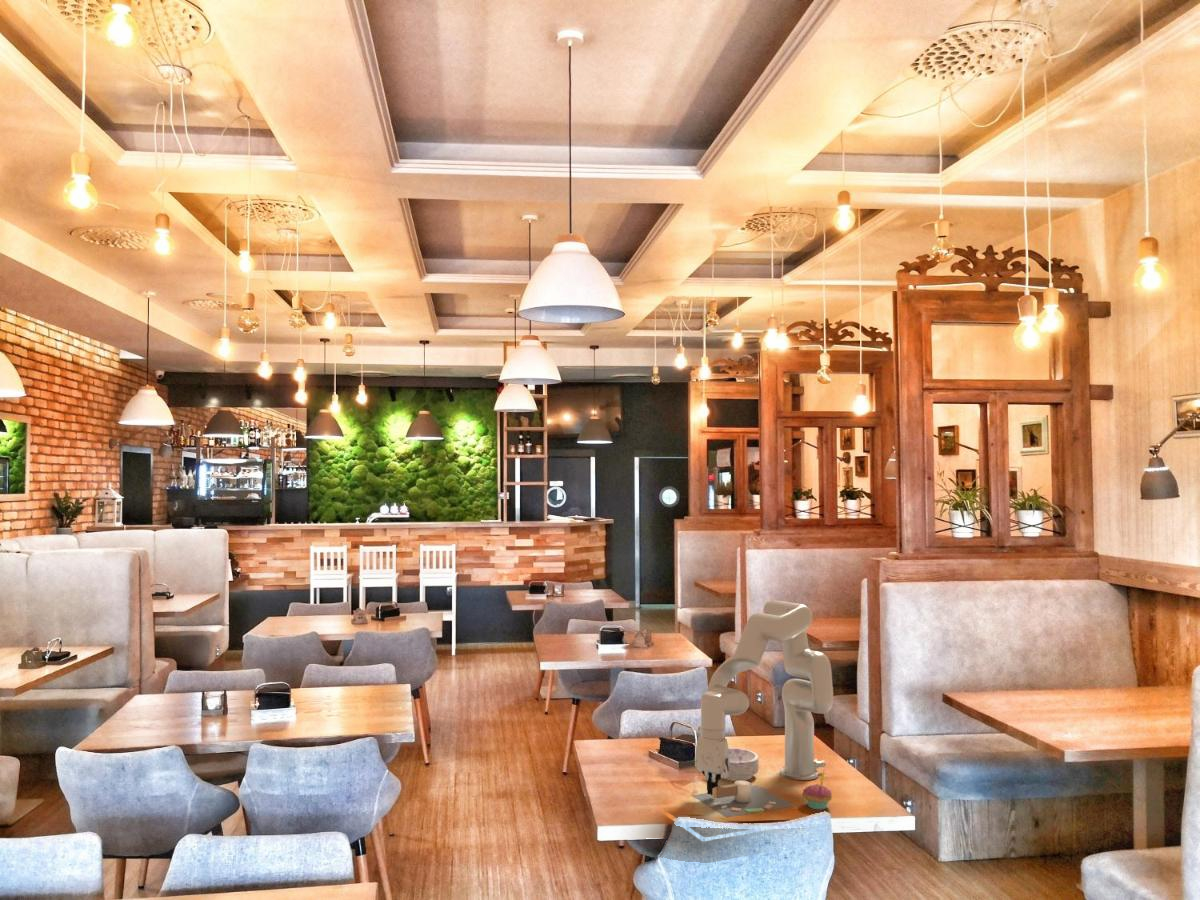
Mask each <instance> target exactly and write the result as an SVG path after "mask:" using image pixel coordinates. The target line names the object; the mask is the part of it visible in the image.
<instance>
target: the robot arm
mask: <svg viewBox="0 0 1200 900" xmlns="http://www.w3.org/2000/svg"><path fill="white" fill-rule="evenodd" d="M762 609H763V610H762V611H763V613H762V612H761V613H760V612H759V613H753V614H751V615H750V616H748V619H747V621H746V624H745V626H744V629H743V631H742V633H741V636H740V638H739V641H738V644H737V646H736V649H735V651H734V652H733V654H732V655H731V656H729V658H727V659H725V660H724V661H723V663H722V664H720V665H719V666H718V667H717V668H716V670H715V671H714V673H713V674H712V676H711V678H710V680H709V682H708V685H707V689H706V691H704V692H703V693H702V694H701V697H700V726H698V727H697V731H699V732H700V733H699V734H700V735H698V737H697V741H696V745H695V753H694V754H695V756H694V766H695V768H696V770H697V771H698V772H699V773H701V774H703V776H704V778H705V779H704V780H705V781H706V790H707V792H706V793H707V794H710V795H712V794H713V788H715V787H718V786H719V781H720V780H721V778H726V777H728V770H729V749H728V748H729V744H728V740H727V738H726V716H739V715H743V714H744V713H745V712H747V710H748V708H749V706H750V699H749V697H748V694H746V693H745V692H743V691H741V690H738V689H734V688H731V687H727V686H728V684H729V682H730V681H731V680H732V679H733V678H734V677H735V676H737V675H738V674H740V673H743V672H746V671H748V670H751V669H755V668H756V667H759V666H760V664H761V661H762V658H763V655H764V653H765V651H766V648H767V645H768V643H769V642H770V643H777V644H781V645H782V656H783V658H782V659H783V665H784V670H785V672H786V673H787V674H788V675H789V676H793V677H796V678H790V679H788V680H786V681H785V682H784V683H783V685H782V689H781V696H782V705H783V708H784V766H782V767H780V769H779V773H780V775H781V776H783V777H785V778H787V779H789V780H790V779H791V780H797V781H810V780H814V779H817V778H819V771H818V770H817V769H818V768H825V767H826V761H825V760H819V761H818V759H815V756H814V755H815V720H814V717H813V714H812V713H815V714H826V713H828V712H830V710H832V707H833V704H834V686H833V673H832V665H831V662H830V660H829V658H828V656H827V655H825V653H823V652H820V651H817V650H811V649H810V647H809V641H808V635H807V634H808V633H807V630H808V628H810V626H811V624H812V622H813V612H812V610H811V608H810V607H809V606H807V605H805V604H803V603H797V602H790V601H784V600H775V599H774V600H769V601H767V602H766V603H765V604H764V605H763V608H762Z"/></svg>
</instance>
